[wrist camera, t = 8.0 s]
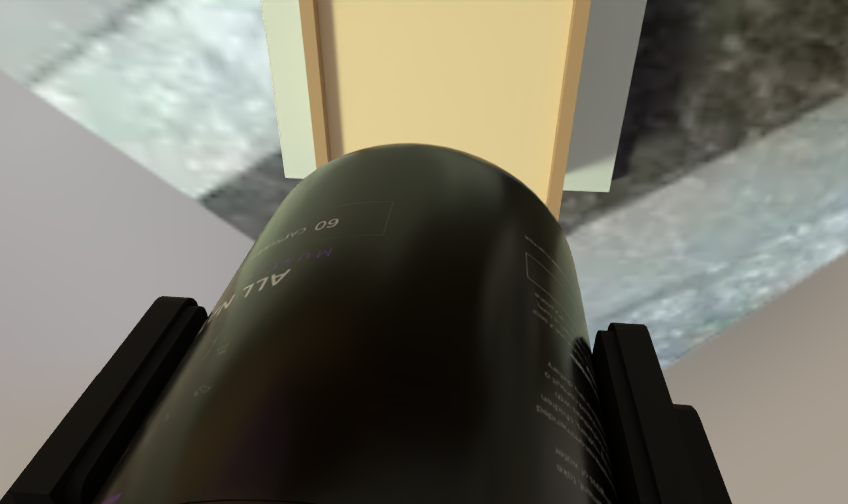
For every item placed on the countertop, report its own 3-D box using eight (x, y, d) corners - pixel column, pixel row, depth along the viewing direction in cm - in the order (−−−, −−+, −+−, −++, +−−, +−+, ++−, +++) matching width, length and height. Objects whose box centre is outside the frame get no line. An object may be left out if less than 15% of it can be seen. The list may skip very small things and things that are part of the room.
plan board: (653, -68, 23) (695, -52, 19) (605, 182, 29) (627, 242, 25) (258, -73, 24) (204, -59, 20) (290, 169, 30) (255, 223, 26)
